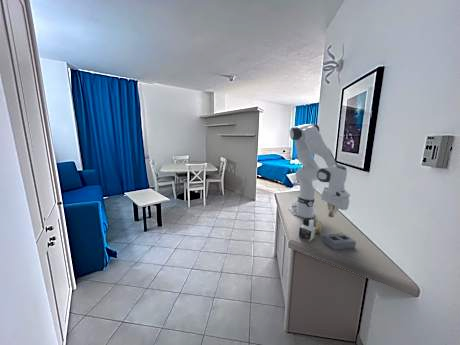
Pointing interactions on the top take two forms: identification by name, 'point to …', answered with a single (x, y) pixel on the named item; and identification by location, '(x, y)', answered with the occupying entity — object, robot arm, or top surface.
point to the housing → (339, 241)
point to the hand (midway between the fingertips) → (331, 211)
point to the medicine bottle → (307, 229)
